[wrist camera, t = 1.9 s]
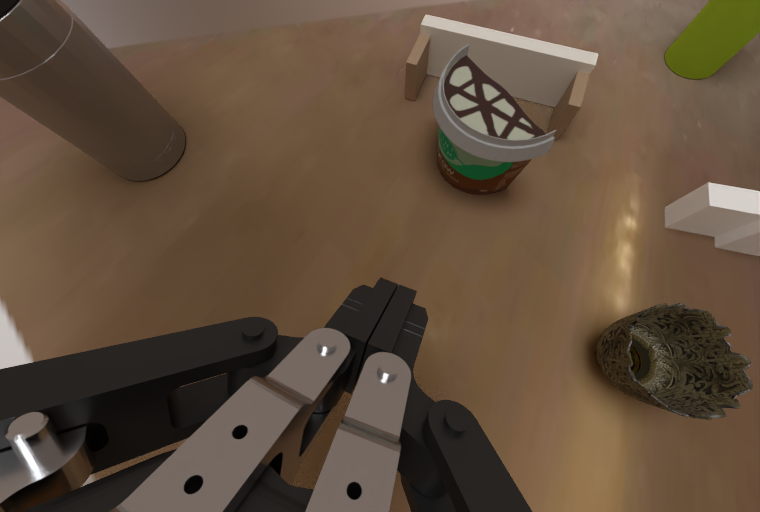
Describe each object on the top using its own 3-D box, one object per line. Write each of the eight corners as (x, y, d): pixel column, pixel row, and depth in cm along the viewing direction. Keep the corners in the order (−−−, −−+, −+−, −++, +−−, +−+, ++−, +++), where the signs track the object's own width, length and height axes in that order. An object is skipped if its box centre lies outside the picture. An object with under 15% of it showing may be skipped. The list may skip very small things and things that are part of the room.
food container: (404, 145, 37) (407, 71, 27) (448, 120, 38) (465, 40, 28) (469, 226, 33) (498, 173, 24) (515, 197, 34) (561, 134, 24)
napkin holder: (823, 252, 31) (914, 229, 26) (751, 323, 29) (831, 315, 24) (689, 152, 35) (743, 114, 30) (619, 209, 33) (662, 181, 28)
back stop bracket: (405, 98, 39) (406, 53, 33) (421, 62, 41) (425, 14, 35) (556, 140, 36) (586, 99, 30) (568, 100, 38) (598, 53, 32)
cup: (557, 326, 30) (611, 315, 22) (632, 308, 30) (712, 291, 22) (591, 412, 27) (666, 433, 20) (672, 392, 27) (778, 405, 20)
